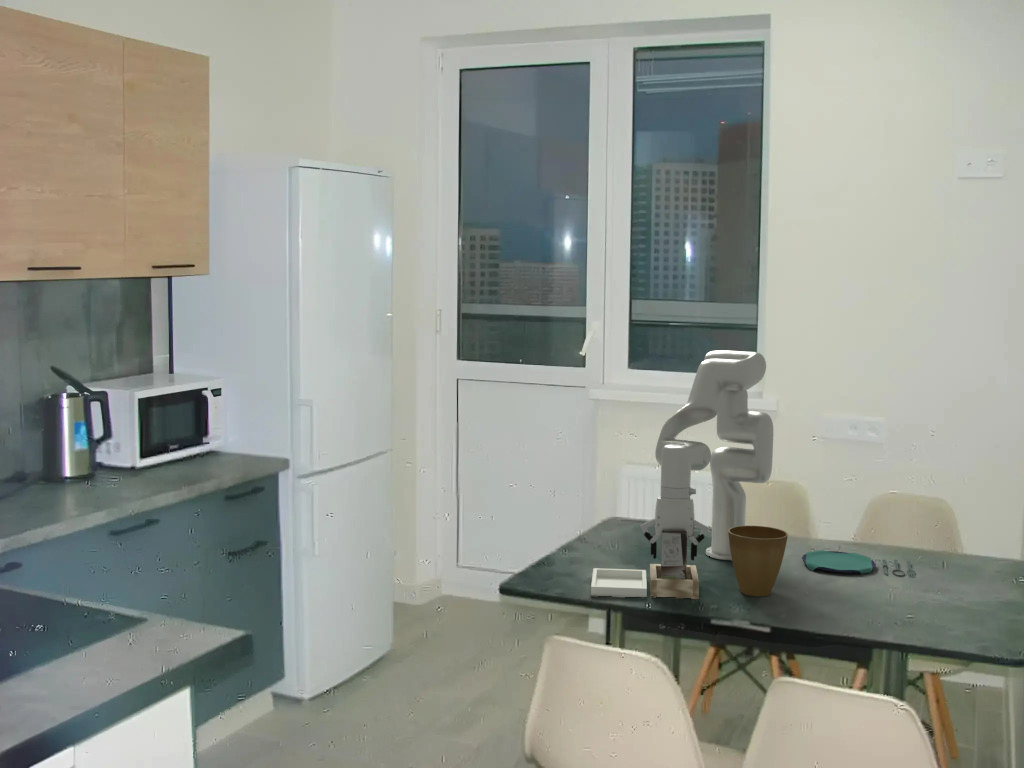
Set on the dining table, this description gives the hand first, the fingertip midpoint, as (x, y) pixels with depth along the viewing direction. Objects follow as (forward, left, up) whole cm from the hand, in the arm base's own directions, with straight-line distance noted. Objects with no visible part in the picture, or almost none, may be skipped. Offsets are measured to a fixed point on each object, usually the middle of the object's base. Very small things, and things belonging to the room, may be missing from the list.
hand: (673, 558), depth 276 cm
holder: (0, 0, -8) cm, 8 cm away
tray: (+14, 0, -8) cm, 16 cm away
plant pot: (-21, 0, -9) cm, 23 cm away
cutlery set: (-52, -28, -9) cm, 60 cm away
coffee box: (0, 0, -9) cm, 9 cm away
